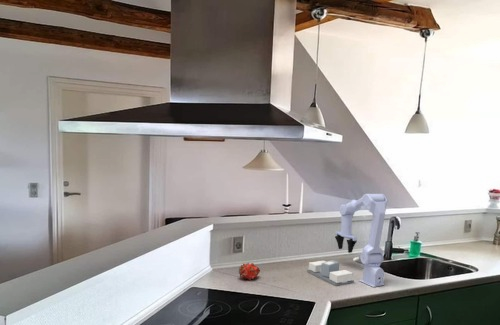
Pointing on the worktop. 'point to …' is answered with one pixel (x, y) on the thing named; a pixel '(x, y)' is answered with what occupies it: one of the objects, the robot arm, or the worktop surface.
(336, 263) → the block
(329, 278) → the rail board
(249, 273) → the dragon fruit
